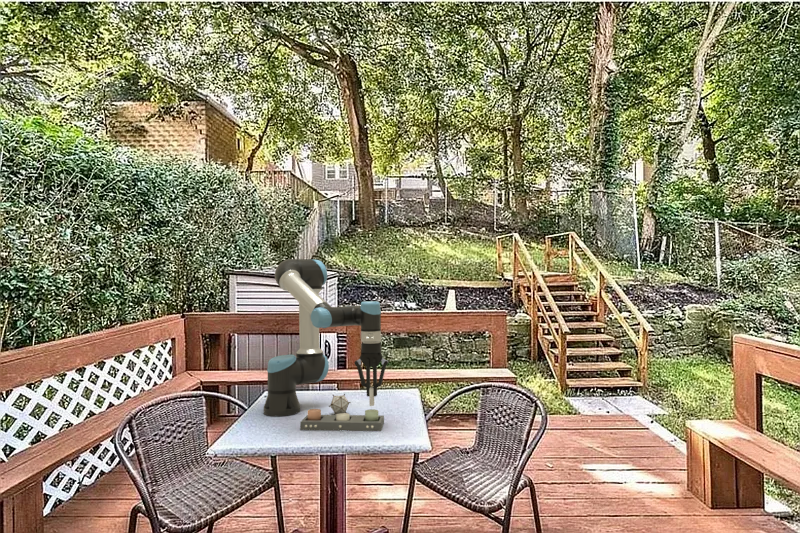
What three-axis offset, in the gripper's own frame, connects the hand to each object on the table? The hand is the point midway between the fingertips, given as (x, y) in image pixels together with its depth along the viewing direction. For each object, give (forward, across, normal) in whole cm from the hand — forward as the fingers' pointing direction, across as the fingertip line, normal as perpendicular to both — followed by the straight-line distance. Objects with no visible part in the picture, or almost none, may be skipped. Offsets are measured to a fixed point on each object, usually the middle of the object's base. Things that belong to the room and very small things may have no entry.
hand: (372, 405), depth 208 cm
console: (+8, -11, 0) cm, 14 cm away
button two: (+6, 0, 0) cm, 6 cm away
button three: (+6, -22, 0) cm, 23 cm away
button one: (+8, -11, 0) cm, 13 cm away
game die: (+8, -16, +20) cm, 27 cm away
